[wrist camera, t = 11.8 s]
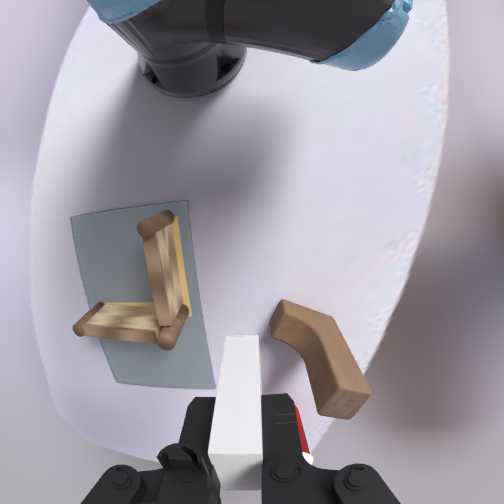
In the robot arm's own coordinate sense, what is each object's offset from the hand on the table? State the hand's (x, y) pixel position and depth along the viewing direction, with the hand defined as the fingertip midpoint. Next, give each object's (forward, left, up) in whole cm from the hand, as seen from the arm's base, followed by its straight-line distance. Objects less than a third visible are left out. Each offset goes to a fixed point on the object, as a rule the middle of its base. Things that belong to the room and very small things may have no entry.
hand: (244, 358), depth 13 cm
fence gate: (+10, -19, -26) cm, 33 cm away
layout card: (+10, -18, -26) cm, 33 cm away
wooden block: (+13, +7, -27) cm, 30 cm away
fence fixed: (+3, -11, -26) cm, 28 cm away
